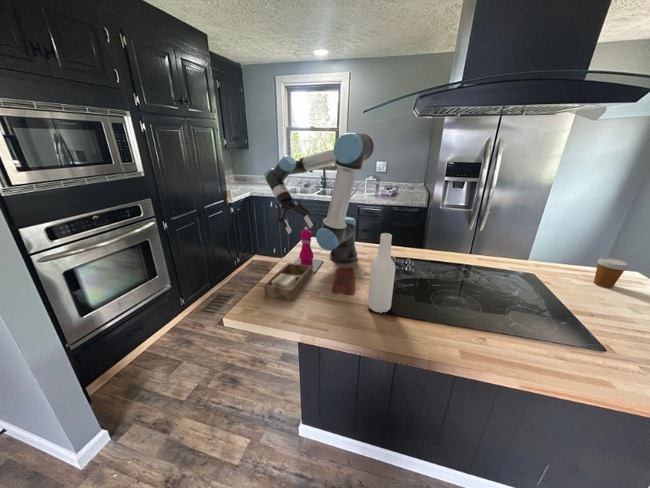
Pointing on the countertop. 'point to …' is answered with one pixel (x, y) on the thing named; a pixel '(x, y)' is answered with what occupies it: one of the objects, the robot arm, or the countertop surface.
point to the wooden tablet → (344, 281)
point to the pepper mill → (306, 247)
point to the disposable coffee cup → (609, 271)
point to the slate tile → (315, 265)
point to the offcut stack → (284, 281)
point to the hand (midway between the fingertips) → (301, 229)
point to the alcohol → (382, 277)
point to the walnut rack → (296, 288)
